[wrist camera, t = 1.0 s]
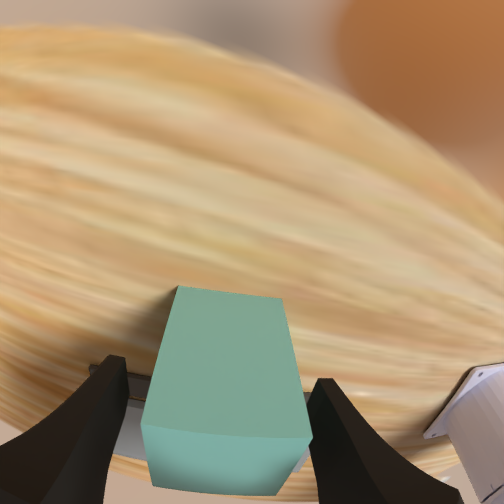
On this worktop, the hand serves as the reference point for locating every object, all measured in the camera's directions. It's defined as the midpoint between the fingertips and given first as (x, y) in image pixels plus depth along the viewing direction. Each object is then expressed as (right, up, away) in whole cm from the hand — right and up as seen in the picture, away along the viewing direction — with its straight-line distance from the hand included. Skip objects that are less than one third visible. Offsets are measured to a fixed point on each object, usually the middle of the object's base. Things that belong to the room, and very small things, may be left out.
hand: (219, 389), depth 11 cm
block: (0, +1, +3) cm, 4 cm away
